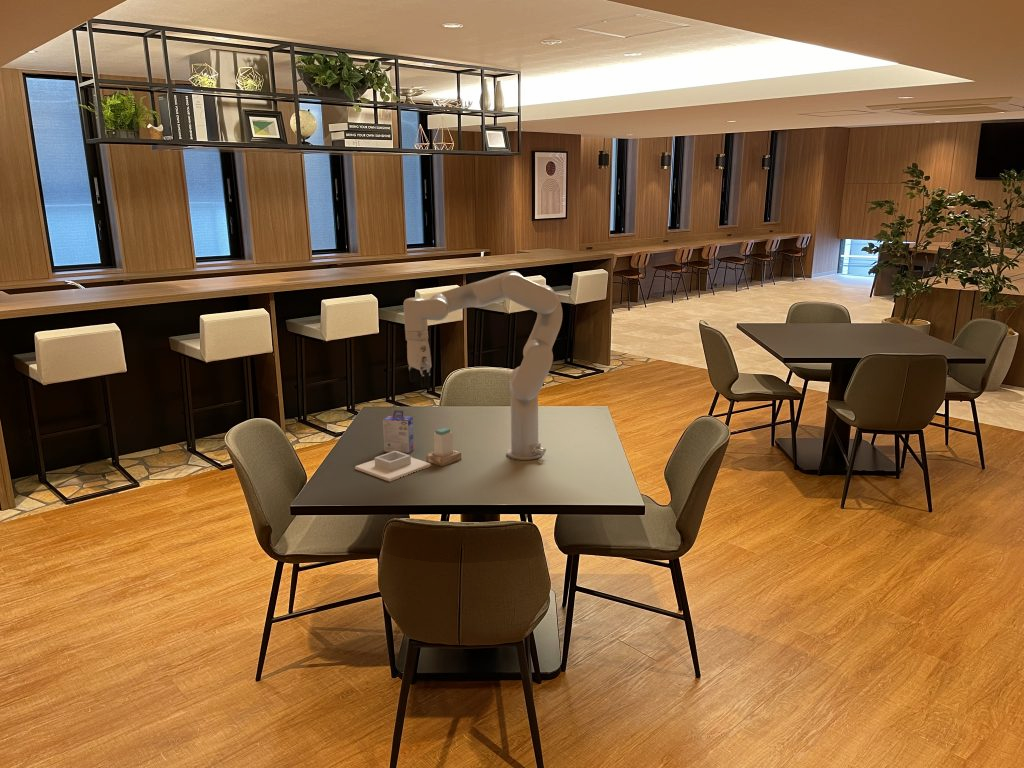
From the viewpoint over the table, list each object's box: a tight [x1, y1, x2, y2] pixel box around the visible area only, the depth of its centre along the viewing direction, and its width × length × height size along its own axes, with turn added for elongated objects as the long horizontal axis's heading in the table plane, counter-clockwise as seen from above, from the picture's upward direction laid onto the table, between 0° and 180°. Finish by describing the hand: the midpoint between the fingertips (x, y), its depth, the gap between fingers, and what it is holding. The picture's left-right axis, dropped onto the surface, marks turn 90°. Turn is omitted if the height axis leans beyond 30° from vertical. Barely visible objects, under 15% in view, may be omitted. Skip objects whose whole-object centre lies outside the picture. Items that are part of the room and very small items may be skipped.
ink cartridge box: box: [382, 409, 415, 454], centre depth 277 cm, size 10×6×14 cm, turn 78°
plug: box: [433, 427, 454, 458], centre depth 266 cm, size 4×5×11 cm
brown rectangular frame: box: [425, 449, 462, 467], centre depth 267 cm, size 8×9×2 cm
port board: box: [354, 451, 432, 482], centre depth 261 cm, size 18×18×4 cm
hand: (420, 384), depth 264 cm, fingers open, 9 cm apart
